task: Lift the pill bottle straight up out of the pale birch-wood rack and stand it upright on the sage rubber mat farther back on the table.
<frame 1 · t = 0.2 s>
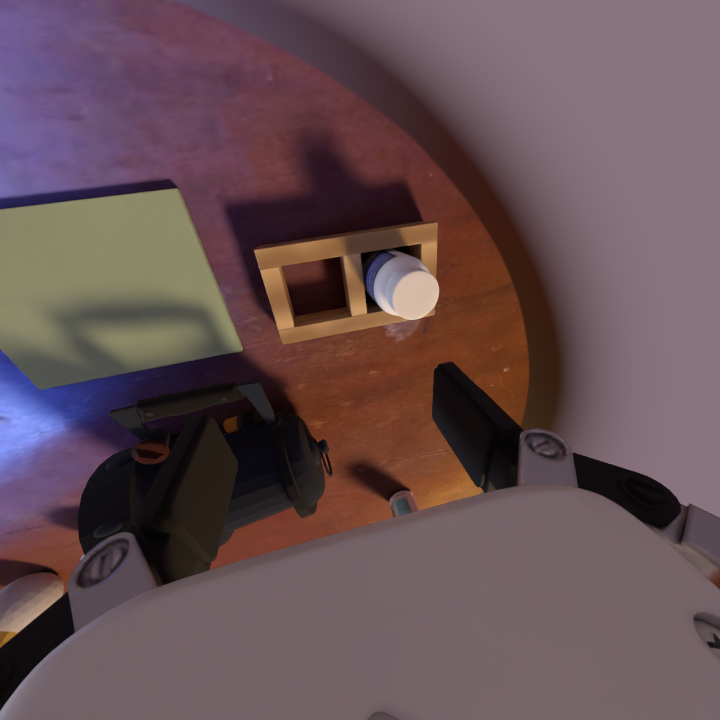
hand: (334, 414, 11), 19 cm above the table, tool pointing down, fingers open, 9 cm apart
perfume bottle: (44, 578, 41), on the table
beer can: (400, 495, 50), on the table
rack: (350, 279, 27), on the table
flashlight: (237, 417, 33), on the table
pill bottle: (383, 273, 28), resting in rack
mat: (104, 299, 24), on the table
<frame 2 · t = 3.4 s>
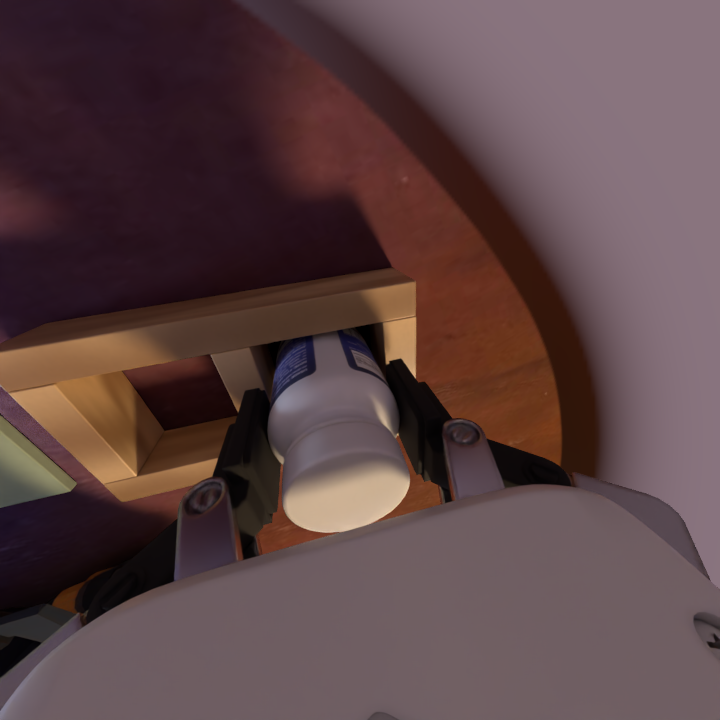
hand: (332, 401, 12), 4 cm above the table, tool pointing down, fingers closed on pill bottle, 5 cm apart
rack: (261, 369, 15), on the table
flashlight: (104, 563, 21), on the table
pill bottle: (323, 355, 15), resting in rack, touching gripper
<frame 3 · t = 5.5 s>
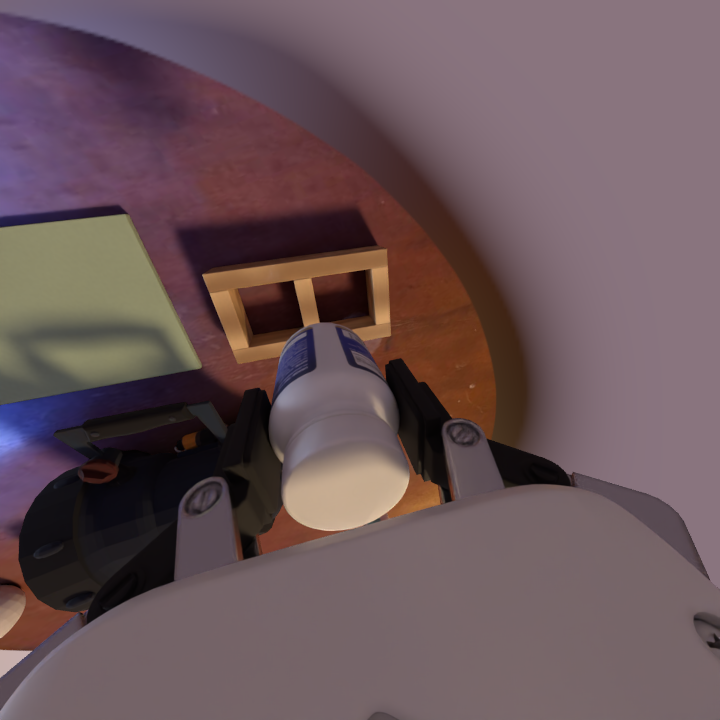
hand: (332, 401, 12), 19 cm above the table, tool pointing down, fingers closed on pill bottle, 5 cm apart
perfume bottle: (7, 591, 40), on the table
rack: (307, 300, 28), on the table
flashlight: (200, 432, 33), on the table
pill bottle: (325, 361, 16), point 14 cm above the table, touching gripper
mat: (56, 318, 24), on the table
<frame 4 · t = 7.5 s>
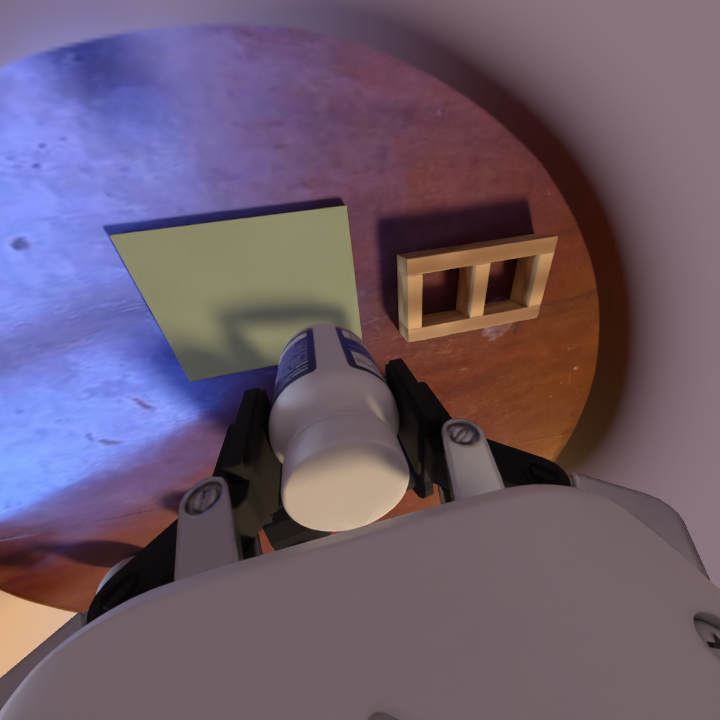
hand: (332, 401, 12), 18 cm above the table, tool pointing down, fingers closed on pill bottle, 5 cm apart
rack: (463, 284, 30), on the table
flashlight: (341, 409, 36), on the table
pill bottle: (325, 361, 16), point 14 cm above the table, touching gripper
mat: (261, 300, 27), on the table
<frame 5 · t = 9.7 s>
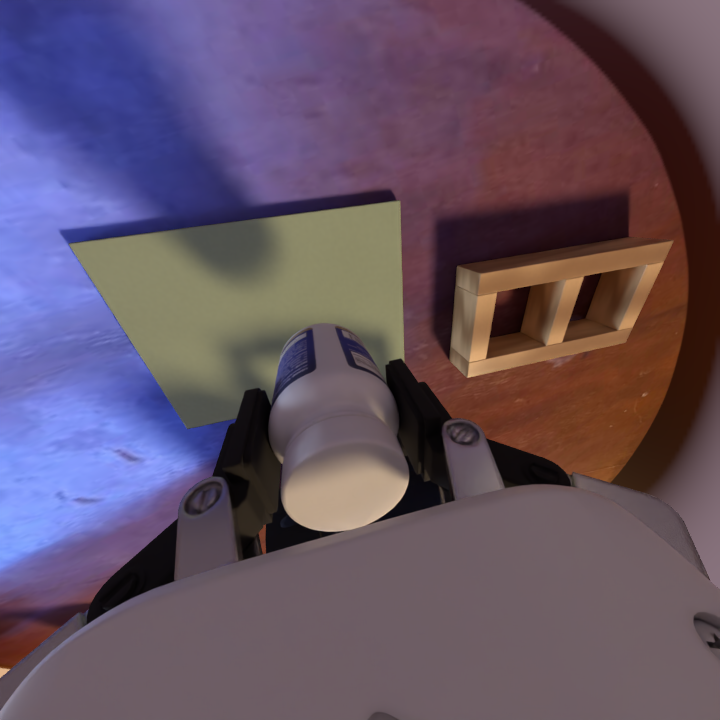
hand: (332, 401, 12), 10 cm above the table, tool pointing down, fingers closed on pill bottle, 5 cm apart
rack: (534, 302, 24), on the table
flashlight: (371, 451, 30), on the table
pill bottle: (325, 361, 16), point 6 cm above the table, touching gripper
mat: (279, 327, 20), on the table
when the fingers open (5 cm above the table, at t = 11.6 s): pill bottle stays where it is, resting on mat.
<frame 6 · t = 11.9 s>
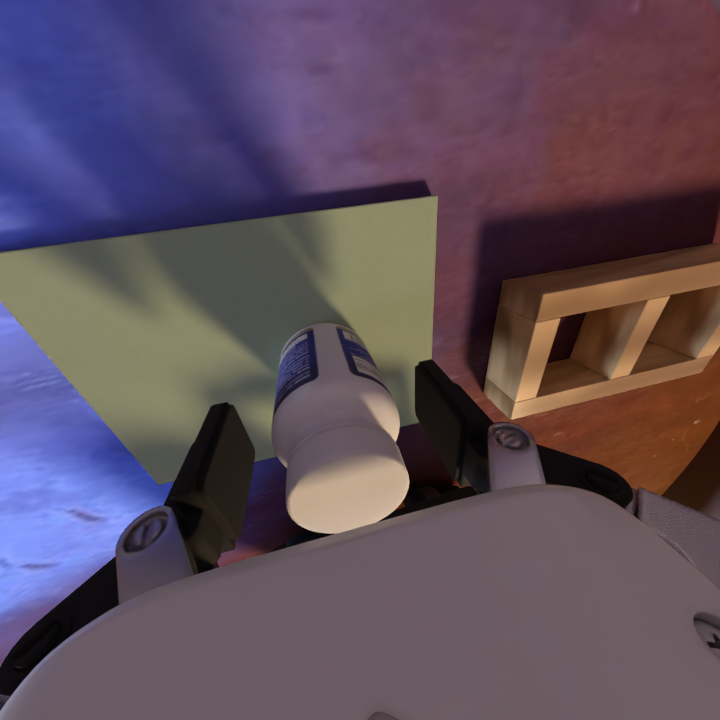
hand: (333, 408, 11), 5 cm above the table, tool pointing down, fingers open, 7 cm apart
rack: (590, 323, 19), on the table
flashlight: (384, 494, 25), on the table
pill bottle: (325, 359, 16), resting on mat
mat: (274, 361, 16), on the table
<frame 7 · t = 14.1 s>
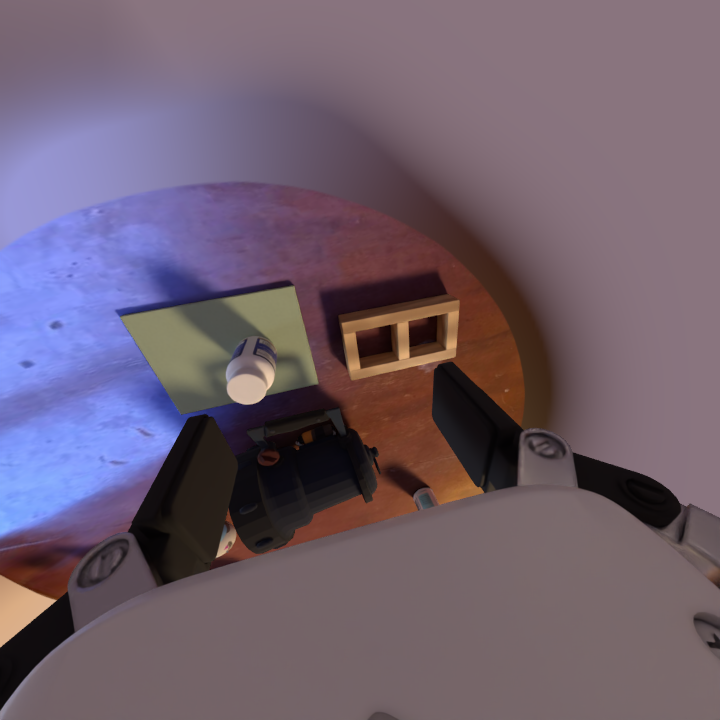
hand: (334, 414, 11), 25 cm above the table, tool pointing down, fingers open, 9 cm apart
white rounded ceramic piece: (217, 517, 50), on the table
beer can: (421, 492, 60), on the table
rack: (396, 332, 39), on the table
flashlight: (306, 431, 44), on the table
pill bottle: (257, 352, 35), resting on mat
mat: (234, 353, 35), on the table
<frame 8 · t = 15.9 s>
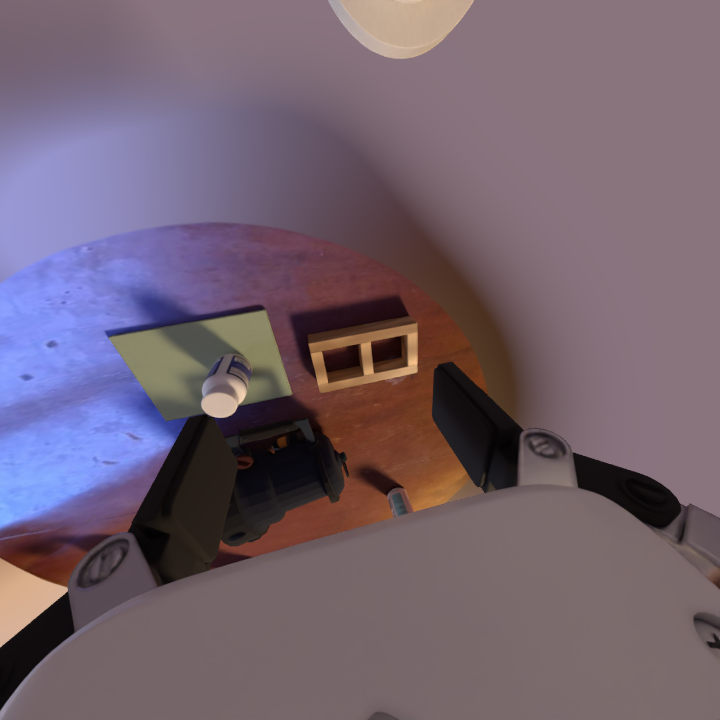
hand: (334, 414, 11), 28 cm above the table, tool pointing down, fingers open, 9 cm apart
beer can: (395, 491, 65), on the table
rack: (362, 349, 42), on the table
flashlight: (283, 436, 48), on the table
pill bottle: (234, 367, 39), resting on mat
mat: (213, 367, 39), on the table
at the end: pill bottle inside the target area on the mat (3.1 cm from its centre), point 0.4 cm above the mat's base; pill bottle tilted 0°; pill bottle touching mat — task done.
